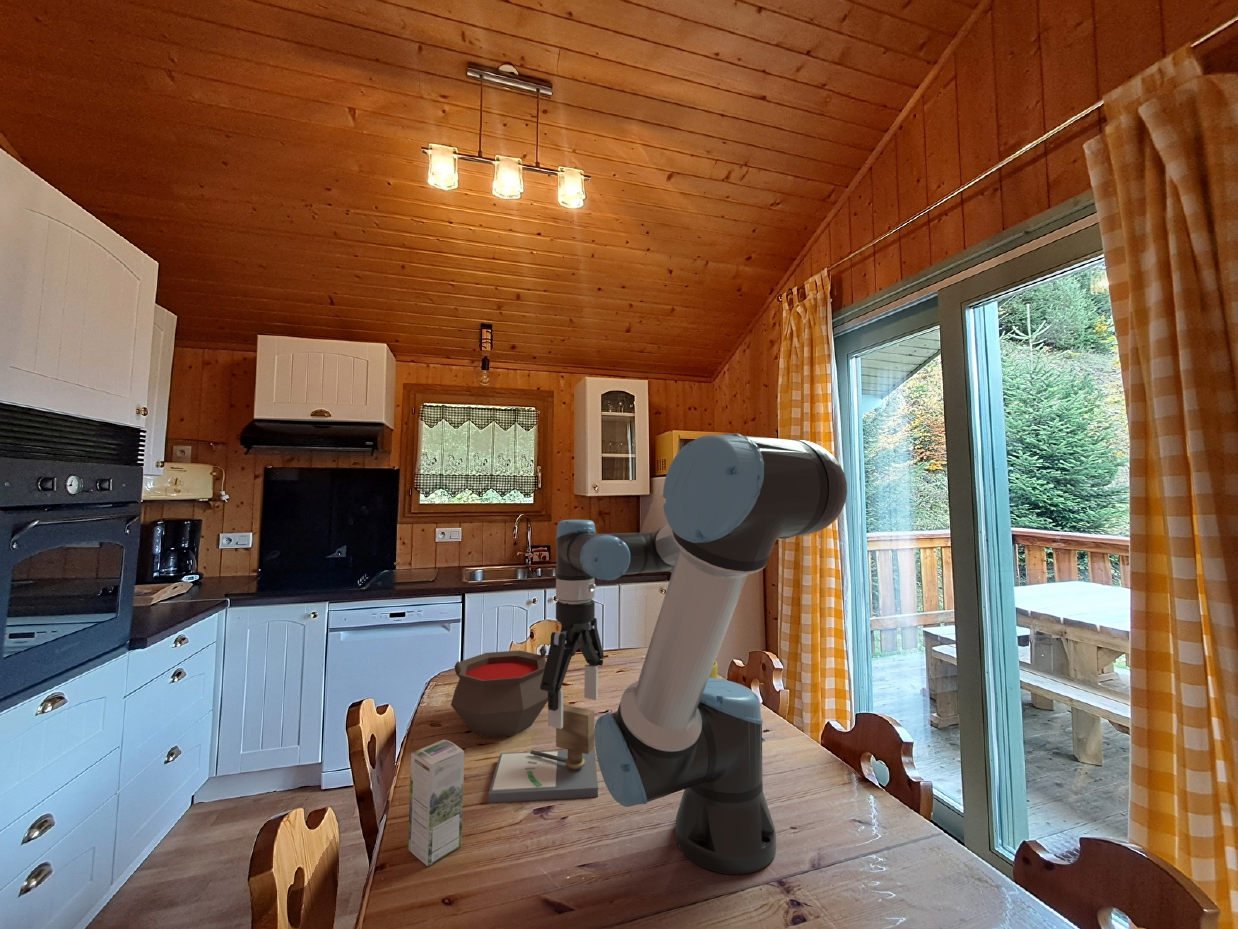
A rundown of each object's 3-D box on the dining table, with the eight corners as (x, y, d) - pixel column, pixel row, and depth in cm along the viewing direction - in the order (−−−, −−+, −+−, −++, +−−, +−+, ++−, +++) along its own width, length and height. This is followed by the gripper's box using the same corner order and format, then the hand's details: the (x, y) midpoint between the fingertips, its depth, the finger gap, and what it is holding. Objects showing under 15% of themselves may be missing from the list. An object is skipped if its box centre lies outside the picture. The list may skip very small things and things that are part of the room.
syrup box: (441, 831, 80) (443, 736, 81) (463, 847, 76) (464, 748, 77) (407, 851, 75) (409, 750, 76) (428, 869, 71) (430, 763, 72)
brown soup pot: (527, 695, 134) (527, 633, 135) (572, 729, 115) (572, 656, 116) (435, 718, 121) (436, 649, 122) (468, 761, 101) (469, 677, 102)
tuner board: (597, 796, 89) (597, 785, 89) (488, 802, 87) (488, 791, 87) (594, 756, 103) (594, 746, 103) (500, 761, 101) (500, 751, 101)
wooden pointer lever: (595, 763, 96) (595, 709, 96) (586, 773, 92) (586, 716, 93) (536, 749, 101) (536, 697, 102) (525, 757, 98) (526, 704, 99)
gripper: (557, 616, 85) (556, 745, 84) (619, 590, 107) (619, 691, 106) (521, 611, 88) (519, 736, 87) (588, 587, 110) (588, 685, 109)
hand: (574, 711), depth 96 cm, fingers open, 13 cm apart
